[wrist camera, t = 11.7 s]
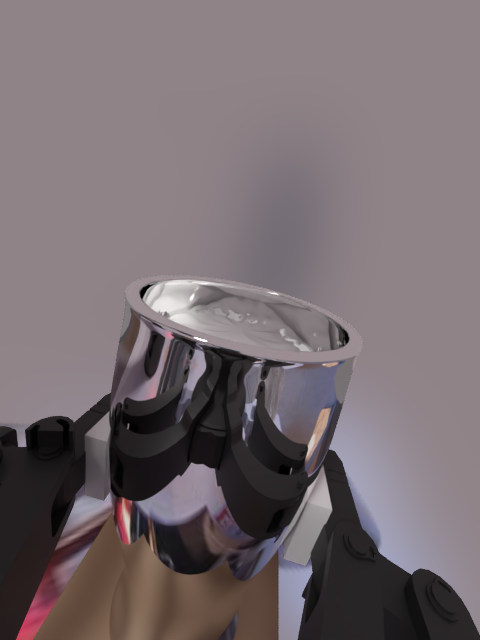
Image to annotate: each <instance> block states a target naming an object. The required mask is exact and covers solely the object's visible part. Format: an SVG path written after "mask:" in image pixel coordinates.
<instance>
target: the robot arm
mask: <svg viewBox="0 0 480 640" xmlns="http://www.w3.org/2000/svg"><path fill="white" fill-rule="evenodd" d="M110 399H111V393H110V394H108V395H106V396H104V397H103V398H102V399H101V400H100V401H99V402H97V404H96V405H94V406H93V407H92V408H90V410H89V411H87V412H86V413H85V414H84V415H82V416H81V417H80V418H79V419H78V420H77V421H76V422H73V421H72V420H71V419H70V418H68V417H63V416H53V417H48V418H45V419H41V420H39V421H37V422H35V423H33V424H32V425H30V426H29V427H28V428H27V429H26V430H25V434H26V446H27V447H2V442H1V440H0V640H16V638H17V635H18V633H19V631H20V628H21V626H22V624H23V622H24V619H25V617H26V615H27V612H28V610H29V608H30V605H31V603H32V601H33V598H34V596H35V594H36V591H37V589H38V587H39V585H40V582H41V580H42V578H43V575H44V573H45V571H46V568H47V566H48V564H49V561H50V559H51V557H52V554H53V552H54V550H55V547H56V545H57V543H58V541H59V538H60V536H61V534H62V531H63V529H64V527H65V524H66V522H67V520H68V517H69V515H70V513H71V510H72V508H73V506H74V502H75V494H76V493H77V492H78V491H79V489H80V488H81V487H82V486H83V484H84V495H87V496H91V497H94V498H97V499H100V500H103V501H104V500H105V498H106V497H107V495H108V494H109V484H108V476H107V432H108V420H109V410H110ZM345 475H346V473H345V470H344V467H343V463H342V461H341V460H340V458H339V457H338V456H337V454H336V453H335V451H332V450H328V452H327V455H326V457H325V460H324V463H323V465H322V468H321V471H320V473H319V476H318V479H317V481H316V483H315V485H314V488H313V490H312V492H311V494H310V496H309V498H308V500H307V502H306V504H305V506H304V508H303V510H302V512H301V514H300V516H299V518H298V520H297V522H296V523H295V525H294V526H293V528H292V529H291V531H290V532H289V534H288V535H287V537H286V538H285V540H284V541H283V559H285V560H288V561H291V562H294V563H298V564H301V565H304V566H306V565H307V563H308V561H309V558H310V556H311V562H312V571H313V573H312V575H311V577H310V579H309V581H308V583H307V585H306V587H305V589H304V591H303V594H302V597H303V598H305V604H304V609H303V614H302V621H301V626H300V631H299V636H298V640H480V635H479V633H478V631H477V628H476V626H475V624H474V622H473V620H472V618H471V616H470V613H469V612H468V610H467V608H466V606H465V605H464V603H463V601H462V600H461V598H460V597H459V596H458V595H457V593H456V592H455V591H454V590H453V588H452V587H451V586H450V585H448V583H446V582H445V581H444V580H443V579H442V578H441V577H440V576H438V575H436V574H435V573H433V572H431V571H429V570H425V569H418V570H416V571H414V573H413V574H412V575H411V574H409V573H407V572H406V571H404V570H403V569H402V568H400V567H398V566H397V565H395V564H394V563H392V562H391V561H389V560H387V558H385V557H384V556H382V555H381V554H380V553H379V551H378V549H377V547H376V545H375V543H374V541H373V540H372V539H371V538H370V536H369V535H368V534H367V533H366V532H365V531H364V530H363V529H362V527H361V524H360V520H359V517H358V514H357V510H356V507H355V504H354V500H353V497H352V494H351V490H350V487H349V486H348V485H349V484H348V480H347V477H346V476H345Z"/></svg>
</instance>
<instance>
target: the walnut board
mask: <svg viewBox="0 0 480 640" xmlns="http://www.w3.org/2000/svg"><path fill="white" fill-rule="evenodd" d="M123 567H124V560H123V556H122V552H121V548H120V544H119V540H118V536H117V532H116V527H115V523H114V518H113V513H111V515H110V517H109V518H108V520H107V522H106V523H105V525H104V526H103V528H102V530H101V531H100V533H99V534H98V536H97V538H96V539H95V541H94V542H93V544H92V546H91V547H90V549H89V550H88V552H87V554H86V555H85V557H84V558H83V560H82V562H81V563H80V565H79V567H78V568H77V570H76V571H75V573H74V575H73V576H72V578H71V579H70V581H69V583H68V584H67V586H66V587H65V589H64V591H63V592H62V594H61V595H60V597H59V599H58V600H57V602H56V604H55V605H54V607H53V608H52V610H51V612H50V613H49V615H48V616H47V618H46V620H45V621H44V623H43V624H42V626H41V628H40V629H39V631H38V632H37V634H36V636H35V637H34V639H33V640H109V617H110V609H111V603H112V598H113V594H114V590H115V587H116V584H117V582H118V579H119V577H120V574H121V572H122V570H123ZM235 640H278V550H277V552H276V553H275V554H274V556H273V557H272V558H271V559H270V561H269V562H268V563H267V564H266V565H265V567H264V568H263V569H262V570H261V571H260V573H259V574H258V575H257V576H256V578H255V579H254V580H253V581H252V582H251V583H250V584H249V586H248V587H247V588H246V589H245V590H244V591H243V600H242V611H241V618H240V624H239V628H238V632H237V635H236V639H235Z"/></svg>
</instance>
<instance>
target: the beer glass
mask: <svg viewBox="0 0 480 640" xmlns="http://www.w3.org/2000/svg"><path fill="white" fill-rule="evenodd" d="M362 346H363V342H362V339H361V337H360V335H359V333H358V332H357V331H356V330H355V329H354V328H353V327H352V326H351V325H349V324H348V323H347V322H346V321H344V320H343V319H341V318H339V317H338V316H336V315H334V314H332V313H330V312H328V311H326V310H324V309H322V308H320V307H318V306H315V305H313V304H310V303H308V302H306V301H303V300H300V299H297V298H294V297H292V296H288V295H286V294H282V293H279V292H276V291H272V290H268V289H265V288H261V287H257V286H253V285H248V284H243V283H239V282H233V281H228V280H222V279H216V278H208V277H198V276H186V275H162V276H152V277H147V278H143V279H140V280H137V281H135V282H133V283H131V284H130V285H129V286H128V287H127V289H126V292H125V308H124V316H123V322H122V329H121V334H120V340H119V345H118V351H117V358H116V364H115V371H114V377H113V383H112V390H111V399H110V410H109V420H108V432H107V476H108V484H109V492H110V499H111V507H112V513H113V518H114V523H115V527H116V532H117V536H118V540H119V544H120V548H121V552H122V556H123V560H124V567H123V570H122V572H121V574H120V577H119V579H118V582H117V584H116V587H115V590H114V594H113V598H112V603H111V609H110V617H109V640H235V639H236V635H237V632H238V628H239V624H240V618H241V611H242V600H243V591H244V590H245V589H246V588H247V587H248V586H249V584H250V583H251V582H252V581H253V580H254V579H255V578H256V576H257V575H258V574H259V573H260V571H261V570H262V569H263V568H264V567H265V565H266V564H267V563H268V562H269V561H270V559H271V558H272V557H273V556H274V554H275V553H276V552H277V550H278V549H279V547H280V546H281V544H282V543H283V541H284V540H285V538H286V537H287V535H288V534H289V532H290V531H291V529H292V528H293V526H294V525H295V523H296V522H297V520H298V518H299V516H300V514H301V512H302V510H303V508H304V506H305V504H306V502H307V500H308V498H309V496H310V494H311V492H312V490H313V488H314V485H315V483H316V481H317V479H318V476H319V473H320V471H321V468H322V465H323V463H324V460H325V457H326V455H327V452H328V450H329V447H330V444H331V441H332V438H333V435H334V432H335V428H336V425H337V422H338V419H339V416H340V412H341V409H342V406H343V403H344V399H345V396H346V392H347V389H348V385H349V382H350V378H351V375H352V372H353V369H354V366H355V362H356V360H357V357H358V354H359V353H360V351H361V349H362Z"/></svg>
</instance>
